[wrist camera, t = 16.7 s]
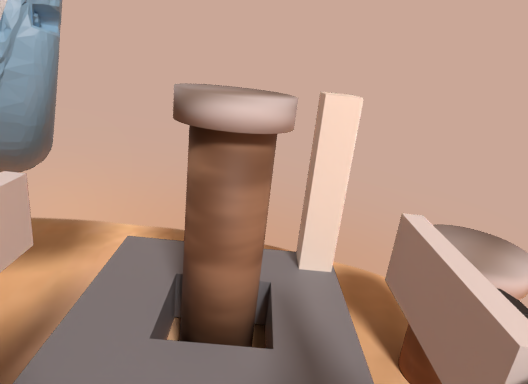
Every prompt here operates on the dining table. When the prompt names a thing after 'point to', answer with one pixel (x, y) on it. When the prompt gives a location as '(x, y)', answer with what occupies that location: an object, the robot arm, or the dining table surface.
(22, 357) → the dining table surface
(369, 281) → the dining table surface
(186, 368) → the hole block
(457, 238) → the short pin
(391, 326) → the dining table surface
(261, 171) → the long pin
